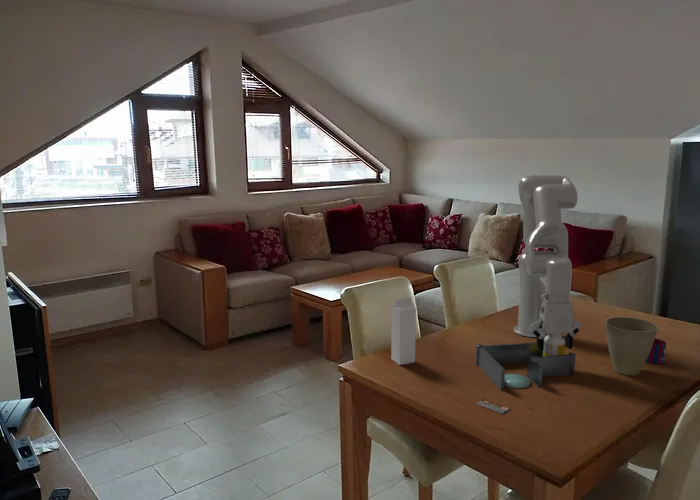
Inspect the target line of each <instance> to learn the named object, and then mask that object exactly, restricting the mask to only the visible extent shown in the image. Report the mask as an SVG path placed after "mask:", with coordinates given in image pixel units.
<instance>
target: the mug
mask: <svg viewBox="0 0 700 500" xmlns="http://www.w3.org/2000/svg"><path fill="white" fill-rule="evenodd" d="M666 349H667V341H665V340H663V339H660V338H656V337H655V339H654V342H653V345H652V348H651V350H650V353H649V355H648V357H647V360H646V362H645V363H647V364H653V365H662V364H665V360H666V359H665V357H666Z"/></svg>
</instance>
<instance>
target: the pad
mask: <svg viewBox="0 0 700 500" xmlns="http://www.w3.org/2000/svg"><path fill="white" fill-rule="evenodd" d="M530 385H531V380H530V379H529V378H528V377H527V376H526V375H522V374H518V373H506V374H505V376H504V387H508V388H509V389H510V388H511V389H525V388H528V387H530Z"/></svg>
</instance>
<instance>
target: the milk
mask: <svg viewBox="0 0 700 500" xmlns="http://www.w3.org/2000/svg"><path fill="white" fill-rule="evenodd" d="M412 300H413V299H412V297H411V296H409V297H402V298H395V303H394V304H392V305H391V344H390V345H391V348H390V349H391V351H390V354H391V355H390V357H391V361H394V363H396V364H397V365H399V366H401V365H402V366H403V365H408V364H413V363H416V322H417V321H416V318H417V317H416V313H417V312H416V311H417V310H416V306H415V305H414V303H413V301H412Z"/></svg>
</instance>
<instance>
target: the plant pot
mask: <svg viewBox="0 0 700 500" xmlns="http://www.w3.org/2000/svg"><path fill="white" fill-rule="evenodd" d="M657 331H658V326H657V324H655V323H653V322H652V321H648V320H646V319H641V318H637V317H631V316H630V317H628V316H612V317H608V318H607V319H606V320H605V333H606V340H607V347H608V352H609V357H610V361H611V364H612V368H613V371H615V372H616V373H619V374H621V375H624V376H625V375H626V376H637V375H639V374H640V372H641V370H642V369H643V368H644V365H645V364H646V363H647V362H646V360H647V357H648V355H649V353H650V350H651V348H652V345H653V342H654V339H655V338H656V336H657Z"/></svg>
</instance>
